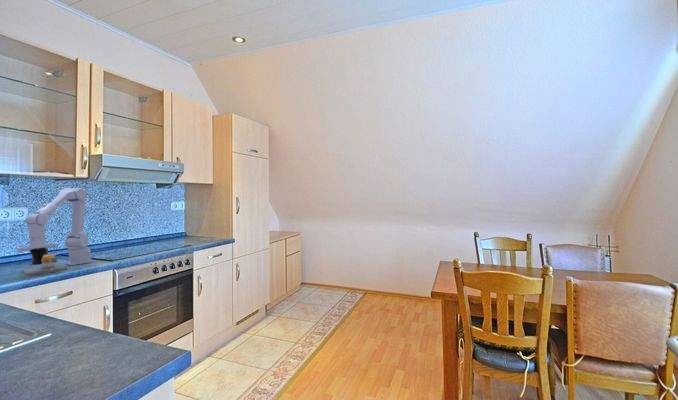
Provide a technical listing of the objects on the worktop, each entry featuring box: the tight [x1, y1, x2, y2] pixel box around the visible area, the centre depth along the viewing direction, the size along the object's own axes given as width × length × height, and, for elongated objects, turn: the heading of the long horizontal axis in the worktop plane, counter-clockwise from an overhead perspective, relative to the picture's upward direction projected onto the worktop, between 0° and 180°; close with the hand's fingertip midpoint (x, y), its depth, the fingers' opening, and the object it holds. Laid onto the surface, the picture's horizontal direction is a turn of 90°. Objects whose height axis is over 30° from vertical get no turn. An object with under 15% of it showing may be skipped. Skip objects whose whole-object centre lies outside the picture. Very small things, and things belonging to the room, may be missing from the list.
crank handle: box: [41, 253, 58, 264], centre depth 162 cm, size 14×6×3 cm, turn 58°
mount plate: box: [21, 261, 68, 277], centre depth 163 cm, size 15×14×5 cm
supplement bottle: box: [31, 248, 49, 265], centre depth 181 cm, size 7×7×12 cm
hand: (38, 263), depth 156 cm, fingers closed
